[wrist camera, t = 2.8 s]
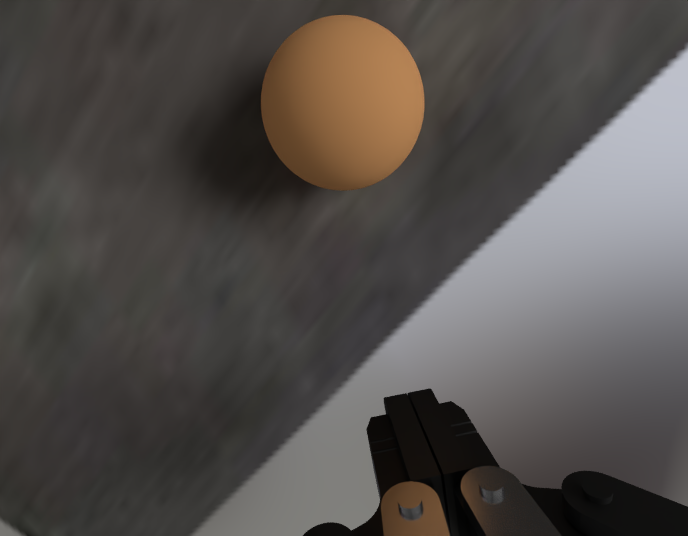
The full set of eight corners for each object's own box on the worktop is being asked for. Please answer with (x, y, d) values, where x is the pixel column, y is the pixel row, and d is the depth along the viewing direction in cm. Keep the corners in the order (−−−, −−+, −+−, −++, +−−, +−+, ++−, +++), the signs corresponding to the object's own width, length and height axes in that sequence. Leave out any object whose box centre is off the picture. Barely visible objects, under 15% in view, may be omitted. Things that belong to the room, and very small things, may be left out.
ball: (271, 185, 18) (255, 197, 12) (266, 40, 16) (244, -21, 11) (400, 186, 18) (441, 196, 13) (406, 44, 17) (454, -12, 11)
